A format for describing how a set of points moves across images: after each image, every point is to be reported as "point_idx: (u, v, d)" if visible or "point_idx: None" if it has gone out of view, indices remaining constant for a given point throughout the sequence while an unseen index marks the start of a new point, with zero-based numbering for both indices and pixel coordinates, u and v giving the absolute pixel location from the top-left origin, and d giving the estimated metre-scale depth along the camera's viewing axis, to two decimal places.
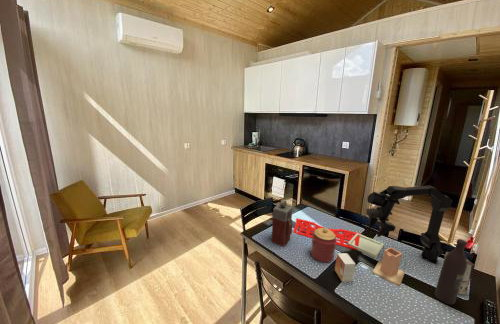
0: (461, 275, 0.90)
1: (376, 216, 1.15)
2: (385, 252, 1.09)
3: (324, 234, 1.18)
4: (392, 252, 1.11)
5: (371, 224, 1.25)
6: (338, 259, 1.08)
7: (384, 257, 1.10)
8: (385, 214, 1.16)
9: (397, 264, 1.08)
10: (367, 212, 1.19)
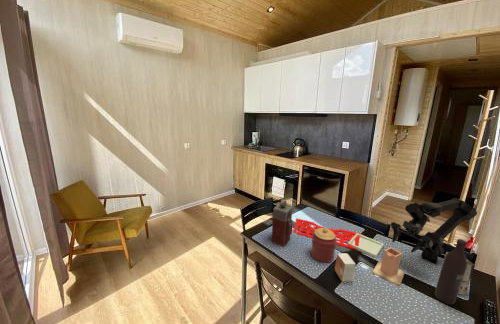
0: (461, 275, 0.90)
1: (419, 229, 1.07)
2: (385, 252, 1.09)
3: (324, 234, 1.18)
4: (392, 252, 1.11)
5: (395, 238, 1.16)
6: (338, 259, 1.08)
7: (384, 257, 1.10)
8: None
9: (397, 264, 1.08)
10: (407, 224, 1.10)
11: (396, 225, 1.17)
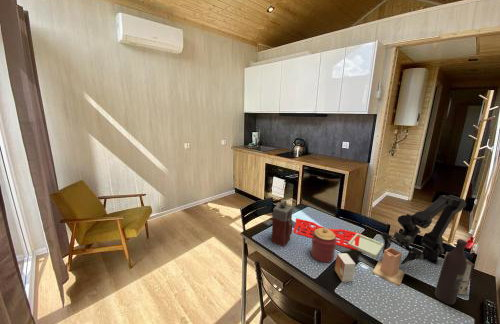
0: (461, 275, 0.90)
1: (410, 241, 1.05)
2: (385, 252, 1.09)
3: (324, 234, 1.18)
4: (392, 252, 1.11)
5: (385, 249, 1.14)
6: (338, 259, 1.08)
7: (384, 257, 1.10)
8: (411, 240, 1.09)
9: (397, 264, 1.08)
10: (397, 235, 1.07)
11: (387, 236, 1.15)
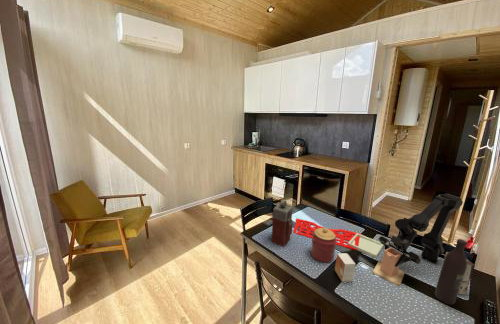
0: (461, 275, 0.90)
1: (407, 245, 1.04)
2: (385, 252, 1.09)
3: (324, 234, 1.18)
4: (392, 252, 1.11)
5: None
6: (338, 259, 1.08)
7: (384, 257, 1.10)
8: (408, 244, 1.08)
9: None
10: (394, 239, 1.07)
11: (384, 240, 1.14)
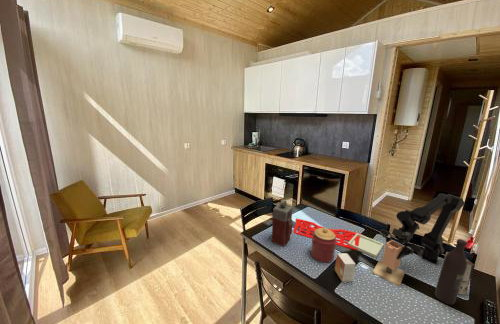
0: (461, 275, 0.90)
1: (408, 237, 1.03)
2: (387, 245, 1.08)
3: (324, 234, 1.18)
4: (394, 245, 1.10)
5: None
6: (338, 259, 1.08)
7: (386, 250, 1.09)
8: (410, 236, 1.07)
9: None
10: (396, 232, 1.06)
11: (386, 232, 1.13)
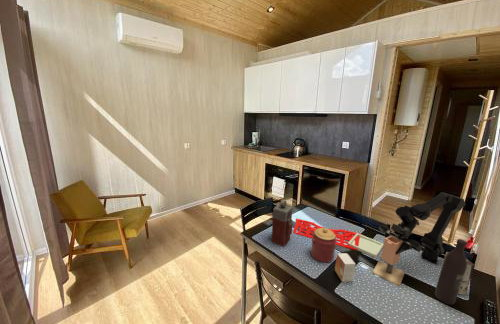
0: (461, 275, 0.90)
1: (407, 233, 1.03)
2: (385, 240, 1.08)
3: (324, 234, 1.18)
4: (393, 240, 1.10)
5: None
6: (338, 259, 1.08)
7: (384, 245, 1.09)
8: (409, 232, 1.07)
9: None
10: (395, 227, 1.06)
11: (385, 228, 1.14)
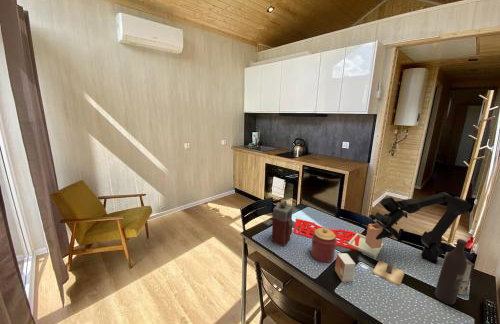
0: (461, 275, 0.90)
1: (387, 220, 1.15)
2: (369, 226, 1.21)
3: (324, 234, 1.18)
4: (377, 228, 1.22)
5: None
6: (338, 259, 1.08)
7: (368, 230, 1.22)
8: (392, 222, 1.17)
9: None
10: (377, 215, 1.18)
11: (373, 217, 1.25)
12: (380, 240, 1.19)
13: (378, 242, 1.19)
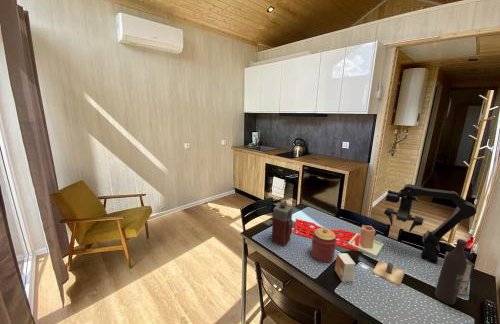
0: (461, 275, 0.90)
1: (411, 218, 1.20)
2: (362, 227, 1.33)
3: (324, 234, 1.18)
4: (370, 230, 1.32)
5: (392, 222, 1.32)
6: (338, 259, 1.08)
7: (361, 231, 1.33)
8: (410, 211, 1.24)
9: (370, 239, 1.29)
10: (400, 218, 1.22)
11: (389, 214, 1.30)
12: (371, 241, 1.29)
13: (369, 243, 1.30)
